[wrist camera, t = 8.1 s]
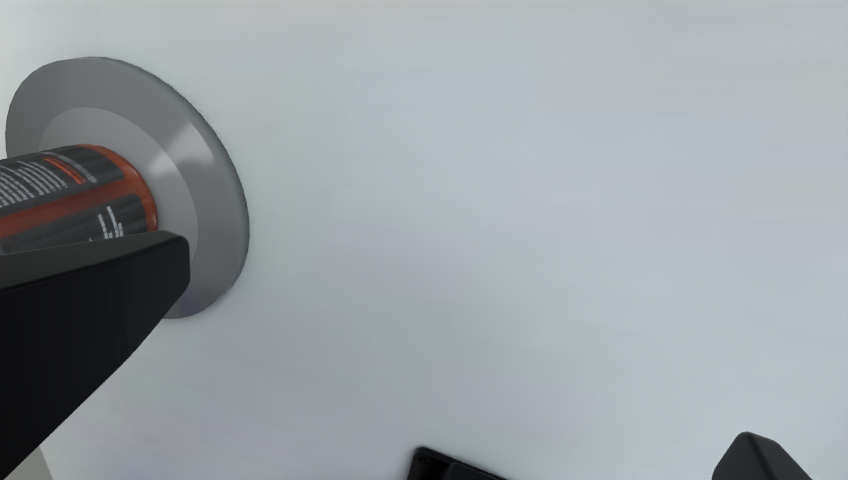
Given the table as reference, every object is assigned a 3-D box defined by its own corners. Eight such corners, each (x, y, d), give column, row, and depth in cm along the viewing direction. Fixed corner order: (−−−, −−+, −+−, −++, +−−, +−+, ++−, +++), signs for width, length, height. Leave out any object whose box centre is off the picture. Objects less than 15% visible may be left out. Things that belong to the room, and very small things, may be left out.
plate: (245, 341, 28) (233, 353, 27) (47, 264, 30) (29, 273, 29) (254, 99, 22) (238, 104, 21) (2, 25, 24) (-22, 27, 23)
